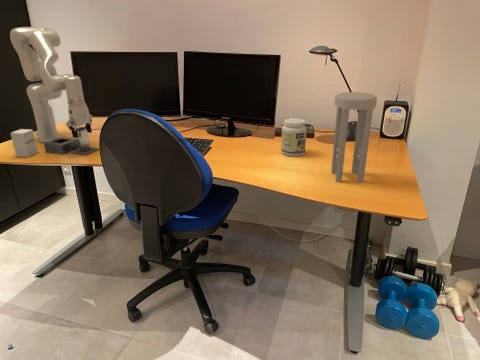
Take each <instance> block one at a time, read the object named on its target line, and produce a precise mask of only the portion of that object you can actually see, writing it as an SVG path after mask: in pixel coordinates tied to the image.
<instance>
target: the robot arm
mask: <svg viewBox="0 0 480 360" xmlns="http://www.w3.org/2000/svg"><path fill="white" fill-rule="evenodd" d="M9 37H10V41H11V44H12V46H13V48H14V50H15V51H16V54H18V58H19V61H20V66H21V67H22V70H23V73H24V76H25V78H26V80H28V81H30V82H36V81H37V82H38V81H42V82H38V83H32V84H29V85H28V86H27V88H26V94H27V97H28V99H29V101H30V104H31V108H32V111H33V114H34V119H35V123H36V128H37V130H36V132H35V134H34V136H38V137H37V138H36V142H38V143H45V142H48V141H51V140H54V139H56V138H59V137H62V135H61V134H58V129H57V125H56V120H55V117H54V112H53V111H54V110H53V108H52V106H51V105H50V103H48V102H47V101H50V100H51V101H52V100H55V99H59V98H61V97H62V94H63V92H62V91H65V93H66V98H67V102H66V103H67V105H68V106H67V109H68V111H67V112H68V120H67V122H65V125H66V126H67V128H68V129H69V130H70V131H71V135H72V138H76V139H78V132H77V130H76V128H78V127H82V126H84V127H87V133H88V134H92V131H93V130H92V121H93V115H92V114H90V111H89V107H88V106H87V103H86V102H85V98H84V92H83V91H84V90H83V85H82V80H81V78H80V76H78V75H73V74H70V73H65V74H58V72H57V69H56V67H55V66H54V64H55V63H57V61H58V60H59V54H58V52H57V50H56V49H55V48H56V47H59V46H61V43H62V42H61V37H60V34H59V33H58V32H57V31H56V30H54V29H51V28H48V27H44V26H22V27H14V28H12V29H11V30H10V33H9ZM30 45H31V46H32V47H31V46H30ZM39 60H40V61H39Z"/></svg>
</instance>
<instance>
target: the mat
mask: <svg viewBox="0 0 480 360" xmlns="http://www.w3.org/2000/svg"><path fill="white" fill-rule="evenodd" d="M90 149H91V150H90V151H87V152H80V148H79V149H76V150H74V151H72V152H70V154H72V155H79V156H80V155H81V156H85V157H86V156H89V155H92V154H93V153H95V152H98V151H100V150H99V147H92V146H90Z"/></svg>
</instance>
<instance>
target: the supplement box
mask: <svg viewBox="0 0 480 360" xmlns="http://www.w3.org/2000/svg"><path fill="white" fill-rule="evenodd" d="M10 138H11V141H12V144H13V149H14V152H15V153H14V154H15V157H19V158H30V157H32V156H34V155H35V154H38V153H39V151H38V146H37V141H36V138H35V134H34V130H33V129H24V128H19V129H18V130H15V131H12V132H10Z"/></svg>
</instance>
